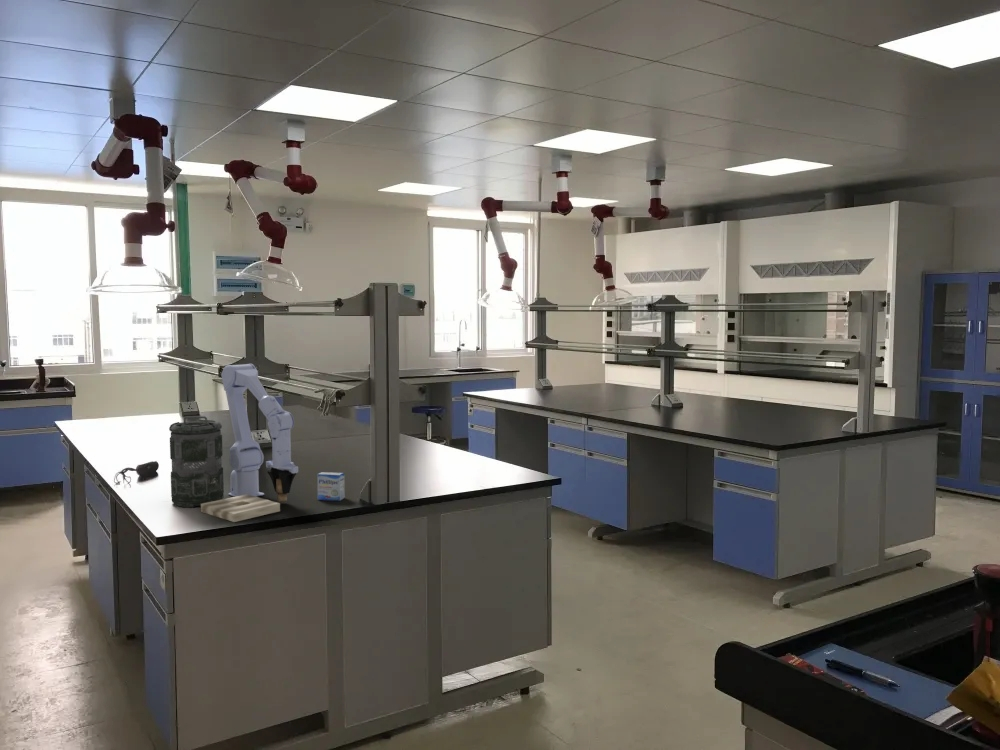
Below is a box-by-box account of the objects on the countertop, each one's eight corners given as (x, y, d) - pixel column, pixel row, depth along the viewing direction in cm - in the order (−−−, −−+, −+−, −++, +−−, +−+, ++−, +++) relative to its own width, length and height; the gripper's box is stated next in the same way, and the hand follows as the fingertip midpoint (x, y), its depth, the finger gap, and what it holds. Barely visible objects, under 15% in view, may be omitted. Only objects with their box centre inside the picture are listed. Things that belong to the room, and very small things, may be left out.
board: (201, 511, 240) (200, 503, 239) (246, 501, 252) (246, 494, 252) (234, 522, 228) (233, 513, 228) (280, 511, 241) (279, 503, 241)
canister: (230, 495, 260) (228, 412, 257) (214, 508, 244) (212, 419, 242) (182, 496, 259) (179, 412, 257) (163, 508, 244) (160, 419, 241)
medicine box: (317, 500, 255) (316, 474, 254) (322, 496, 259) (321, 471, 258) (340, 501, 254) (339, 475, 253) (345, 497, 258) (344, 472, 257)
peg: (274, 500, 250) (273, 479, 249) (283, 498, 252) (283, 477, 252) (281, 502, 247) (280, 480, 247) (290, 500, 250) (290, 478, 250)
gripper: (305, 451, 247) (306, 493, 248) (278, 446, 256) (279, 486, 257) (287, 454, 241) (288, 497, 243) (259, 449, 251) (260, 490, 252)
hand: (282, 492), depth 250 cm, fingers closed on peg, 4 cm apart
